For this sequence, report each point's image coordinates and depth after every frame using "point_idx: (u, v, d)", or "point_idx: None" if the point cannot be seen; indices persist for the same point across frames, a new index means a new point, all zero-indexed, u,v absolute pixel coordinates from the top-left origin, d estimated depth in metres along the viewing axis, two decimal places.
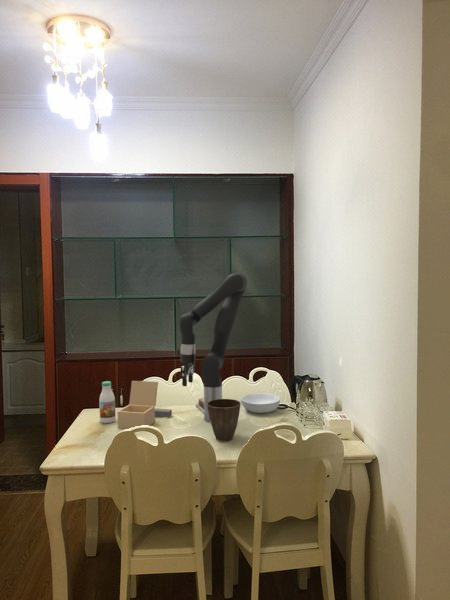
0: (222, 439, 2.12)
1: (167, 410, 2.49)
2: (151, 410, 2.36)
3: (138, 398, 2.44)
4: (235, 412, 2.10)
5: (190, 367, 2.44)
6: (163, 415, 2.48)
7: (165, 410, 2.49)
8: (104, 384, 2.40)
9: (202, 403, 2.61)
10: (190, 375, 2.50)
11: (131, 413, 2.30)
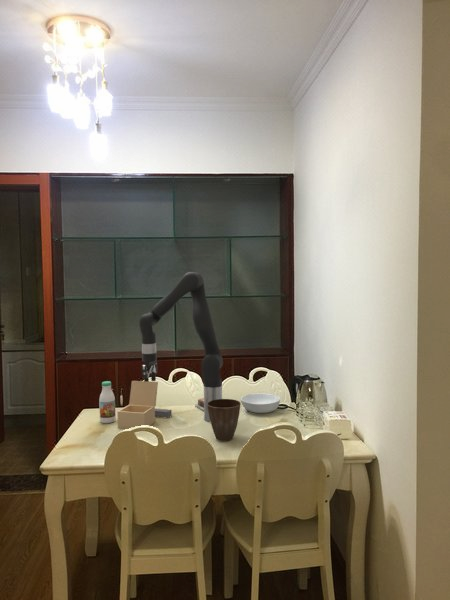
0: (222, 439, 2.12)
1: (167, 410, 2.49)
2: (151, 410, 2.36)
3: (138, 398, 2.43)
4: (235, 412, 2.10)
5: (151, 366, 2.49)
6: (163, 415, 2.48)
7: (165, 410, 2.49)
8: (104, 384, 2.40)
9: None
10: (153, 374, 2.55)
11: (131, 413, 2.30)
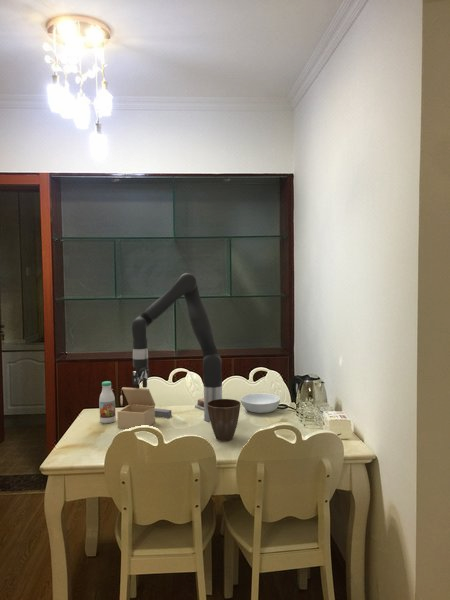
0: (222, 439, 2.12)
1: (167, 410, 2.49)
2: (151, 410, 2.36)
3: (135, 400, 2.41)
4: (235, 412, 2.10)
5: (143, 372, 2.39)
6: (162, 415, 2.48)
7: (165, 410, 2.49)
8: (104, 384, 2.40)
9: None
10: (144, 380, 2.45)
11: (131, 413, 2.30)
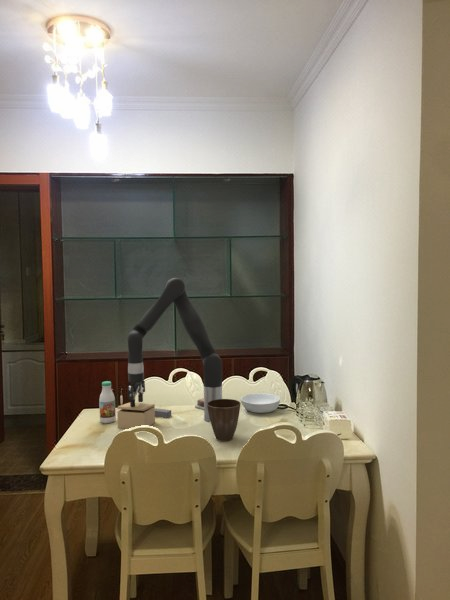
0: (222, 439, 2.12)
1: (166, 410, 2.49)
2: (151, 410, 2.36)
3: None
4: (235, 412, 2.10)
5: (138, 386, 2.34)
6: (162, 415, 2.47)
7: (164, 410, 2.49)
8: (104, 384, 2.40)
9: None
10: (140, 394, 2.40)
11: (131, 413, 2.30)
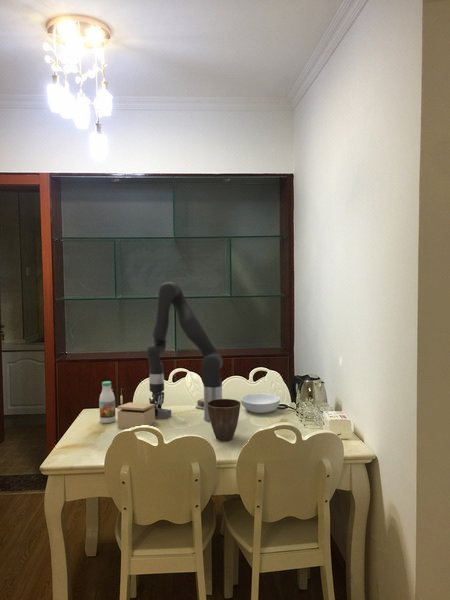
0: (222, 439, 2.12)
1: (166, 410, 2.48)
2: (151, 410, 2.36)
3: None
4: (235, 412, 2.10)
5: (159, 396, 2.48)
6: (162, 415, 2.47)
7: (164, 410, 2.49)
8: (104, 384, 2.40)
9: None
10: (159, 406, 2.53)
11: (131, 413, 2.30)
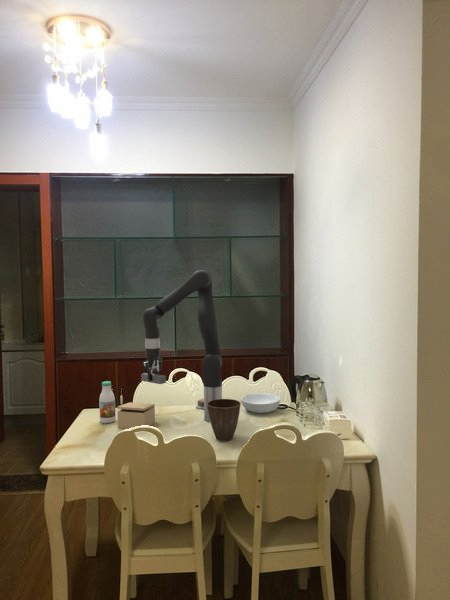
0: (222, 439, 2.12)
1: (160, 376, 2.44)
2: (151, 410, 2.36)
3: None
4: (235, 412, 2.10)
5: (154, 361, 2.45)
6: (156, 380, 2.43)
7: (159, 376, 2.45)
8: (104, 384, 2.40)
9: None
10: (155, 372, 2.49)
11: (131, 413, 2.30)
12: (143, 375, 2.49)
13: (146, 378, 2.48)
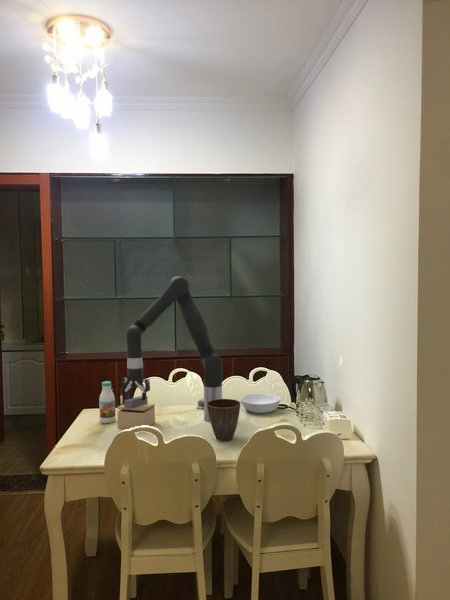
0: (222, 439, 2.12)
1: (130, 400, 2.31)
2: (151, 410, 2.36)
3: None
4: (235, 412, 2.10)
5: (131, 381, 2.34)
6: None
7: (130, 399, 2.32)
8: (104, 384, 2.40)
9: None
10: None
11: (131, 413, 2.30)
12: None
13: None
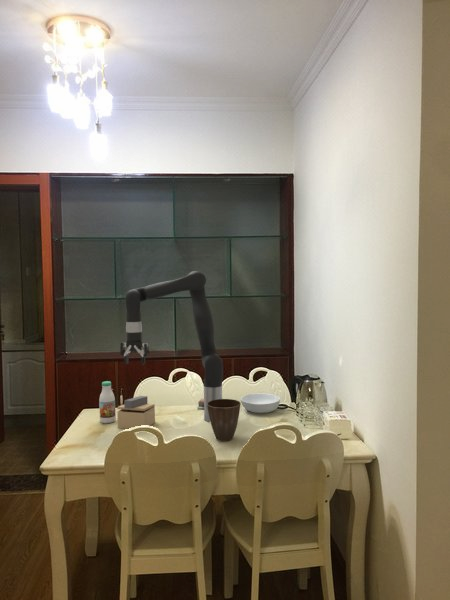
0: (222, 439, 2.12)
1: (130, 400, 2.31)
2: (151, 410, 2.36)
3: None
4: (235, 412, 2.10)
5: (129, 346, 2.33)
6: None
7: (130, 399, 2.32)
8: (104, 384, 2.40)
9: None
10: None
11: (131, 413, 2.30)
12: None
13: None
